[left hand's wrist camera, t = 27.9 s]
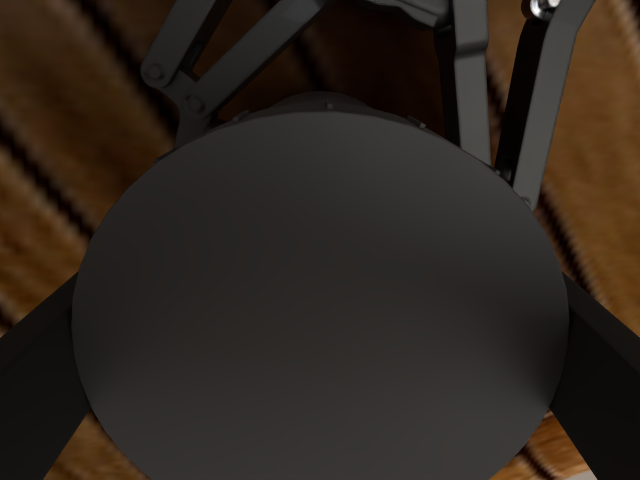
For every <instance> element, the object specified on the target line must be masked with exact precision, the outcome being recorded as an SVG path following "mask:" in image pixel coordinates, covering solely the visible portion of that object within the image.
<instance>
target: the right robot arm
mask: <svg viewBox="0 0 640 480" xmlns="http://www.w3.org/2000/svg"><path fill="white" fill-rule="evenodd" d="M232 1H233V0H176V1H175V3H174V5H173V7H172V8H171V10H170V12H169V14H168V16H167V18H166V19H165V21H164V23H163V25H162V27H161V29H160V30H159V32H158V34H157V36H156V38H155V40H154V42H153V43H152V45H151V47H150V49H149V51H148V53H147V54H146V56H145V58H144V60H143V62H142V64H141V68H140V72H141V76H142V78H143V81H144V82H145V83H146V84H147V85H148V86H151V87H153V88H157V89H158V90H160V91H161V92H162V93H163V94H165V95H166V96H167V97H169V98H170V99H171V100H172V101H173V102H174V103H175V104H176V106H177V107H178V110H179V113H180V122H179V126H178V130H177V135H176V139H175V143H174V147H173V149H174V148H176V147H179V148H180V147H182V146H183V145H185V144H187V143H188V142H190V141H192V140H193V139H195V138H197V137H199V136H200V135H202V134H204V133H205V132H207V131H209V130H211V129H213V128H215V127H218V126H220V125H222V124H224V123H226V122H227V121H224V120H221V119H217V117H218V113H219V111H221V110H223V109H222V108H223V107H224V106H225V105H226V104H227V103H228V102H229V101H230V100H232V99H233V98H234V97H235V96H236V95H237V94H238V93H239V92H240V91H241V90H242V89H243V88H244V87H245V86H246V85H247V84H249V83H250V82H251V81H252V80H253V79H254V78H255V77H256V76H257V75H258V74H259V73H260V72H261V71H262V70H263V69H264V68H266V67H267V66H268V65H269V64H270V63H271V62H272V61H273V60H274V59H275V58H276V57H277V56H278V55H279V54H280V53H281V52H283V51H284V50H285V49H286V48H287V47H288V46H289V45H290V44H291V43H292V42H293V41H294V40H295V39H296V38H297V37H298V36H300V35H301V34H302V33H303V32H304V31H305V30H306V29H307V28H308V27H309V26H310V25H311V24H312V23H313V22H314V21H315V20H317V19H318V18H319V17H320V16H321V15H322V14H323V13H324V12H326V11H327V10H328V9H329V8H330V7H332V6H333V5H334V4H335V3H336V2H337V1H338V0H280V1H279V2H278V3H277V4H276V5H275V6H274V7H273V8H272V9H271V10H270V11H269V12H267V13H266V14H265V15H264V16H263V17H262V18H261V19H260V20H259V21H258V22H257V23H256V24H255V25H254V26H253V27H252V28H251V29H250V30H249V31H248V32H247V33H246V34H245V35H244V36H243V37H242V38H241V39H240V40H239V41H238V42H237V43H236V44H235V45H234V46H233V47H232V48H231V49H230V50H229V51H228V52H227V53H226V54H225V55H224V56H223V57H221V58H220V59H219V60H218V61H217V62H216V63H215V64H214V65H213V66H212V67H211V68H210V69H209V70H208V71H207V72H206V73H205V74H204V75H203V76H202V77H201V78H199V77H198V76H197V75H196V74H195V73H193V72H192V69H193V67H194V65H195V64H196V62H197V60H198V59H199V57H200V55H201V54H202V52H203V50H204V48H205V47H206V45H207V43H208V42H209V40H210V38H211V36H212V35H213V33H214V31H215V30H216V28H217V26H218V24H219V23H220V21H221V19H222V18H223V16H224V14H225V13H226V11H227V9H228V7H229V6H230V4H231V2H232ZM355 1H356V2H355V4H356V5H359V6H361V7H364V8H366V9H369V10H371V11H381V12H391V13H393V14H394V15H395V16H396V17H398V18H399V19H400V20H401V21H403V22H404V23H405V24H406V25H409V26H411V27H414V28H416V29H419V30H421V31H425V30H433V33H434V44H435V51H436V55H437V57H438V60H439V69H440V80H441V91H442V103H443V114H444V125H445V136H446V140H448V141H450V142H451V143H453V144H455V145H456V146H458V147H460V148H461V149H463V150H465V151H466V152H468V153H470V154H471V155H473V156H475V157H476V158H478V159H480V160H481V161H483V162H485V163H486V164H488V165H490V166H491V155H490V136H489V118H488V100H487V81H486V63H485V52H486V49H487V46H488V41H489V33H488V14H487V0H355ZM595 1H596V0H522V3H521V11H522V14H523V15H524V17H525V18H527V20H526V22H525V24H524V27H523V30H522V32H521V35H520V39H519V43H518V47H517V52H516V57H515V63H514V68H513V73H512V78H511V83H510V88H509V94H508V99H507V104H506V109H505V114H504V120H503V125H502V130H501V135H500V140H499V146H498V151H497V156H496V161H495V166H494V168H495V169H497V170H498V171H499V172H500V174H499V176H500V177H502V178H503V179H504V180H505V181H506V182H507V183H508V184H509V185H510V186H511V187H512V188H513V189H514V191H515V192H516V193H517V194H518V195H519V196H520V197H521V198H522V199H523V201H524V202H525V203H526V204H527V205H528V206H529V208H530V209H531V211H532V212H533V211H534V210H535V208H536V206H537V202H538V197H539V193H540V189H541V184H542V180H543V176H544V172H545V167H546V163H547V159H548V154H549V150H550V146H551V142H552V137H553V133H554V129H555V125H556V120H557V116H558V112H559V107H560V103H561V99H562V95H563V90H564V86H565V82H566V77H567V73H568V69H569V65H570V60H571V56H572V52H573V48H574V43H575V39H576V35H577V32H578V30H579V28H580V27H581V25H582V23H583V21H584V20H585V18H586V16H587V15H588V13H589V11H590V9H591V8H592V6H593V4H594V2H595Z"/></svg>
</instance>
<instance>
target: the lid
mask: <svg viewBox="0 0 640 480" xmlns="http://www.w3.org/2000/svg"><path fill="white" fill-rule="evenodd" d="M425 126H426V125H425V124H423V123H422V122H420V121H418V120H416V119H415V118H413V117H411V116H407V118H406V119H405V118H402V117H400V116H397V115H395V114H391V113H387V112H383V111H380V110H376V109H372V108H368V107H364V106H356V105H347V104H339V103H332V101H331V99H326V103H298V104H292V105H286V106H279V107H273V108H267V109H264V110H260V111H257V112H254V113H250V112H249V110H246V111H244V112H242V113H240V114H239V115H237V116H235V117H234V118H233V120H231V121H228V122H226V123H224V124H222V125H220V126H218V127H215V128H213V129H211V130H209V131H207V132H205V133H204V134H202V135H200V136H199V137H197V138H195V139H193V140H192V141H190V142H188V143H187V144H185V145H183V146H182V147H180V148H179V147H176V148H174V149H173V150H171V151H169V152H167V153H166V154H164V155H162V156H160V157H159V158H157V159H155V160H154V161H153V162H154V163H155V164H154V165H153V166H152V167H151V168H150V169H148V170H147V171H146V172H145V173H144V174H143V175H142V176H141V177H139V178H138V179H137V180H136V181H135V182H134V183H133V184H131V185H130V186H129V187H128V188H127V189H126V191H125V192H124V193H123V194H122V195H121V197H120V198H119V199H118V200H117V201H116V203H115V204H114V205H113V206H112V207H111V209H110V210H109V211H108V212H107V214H106V215H105V217H104V219H103V220H102V222H101V224H100V225H99V227H98V229H97V230H96V232H95V234H94V235H93V237H92V239H91V240H90V243H89V245H88V248H87V250H86V253H85V255H84V258H83V261H82V263H81V266H80V268H79V272H78V276H77V281H76V285H75V290H74V294H73V301H72V318H71V333H72V343H73V352H74V357H75V361H76V365H77V369H78V374H79V378H80V382H81V384H82V386H83V389H84V391H85V394H86V396H87V398H88V401H89V403H90V406H91V408H92V409H93V411H94V413H95V414H96V416H97V418H98V419H99V421H100V423H101V425H102V426H103V428H104V430H105V431H106V432H107V433H108V435H109V436H110V437H111V439H112V440H113V441H114V443H115V444H116V445H117V446H118V448H119V449H120V450H121V451H122V452H123V453H124V454H125V455H126V456H127V457H128V458H129V459H130V460H131V461H132V462H133V463H134V464H135V465H136V466H137V467H138V468H139V469H140V470H141V471H142V472H143V473H145V474H146V475H147V476H148V477H150V478H151V479H152V480H489V479H490V478H491V477H492V476H493V475H495V474H496V473H497V472H498V471H499V470H501V469H502V468H503V467H504V466H505V465H506V464H507V463H508V462H509V461H510V460H511V459H512V458H513V457H514V456H515V455H516V454H517V453H518V452H519V450H520V449H521V448H522V447H523V446H524V445H525V444H526V442H527V441H528V440H529V438H530V437H531V435H532V434H533V433H534V431H535V430H536V428H537V427H538V426H539V424H540V423H541V421H542V419H543V417H544V415H545V413H546V412H547V410H548V408H549V406H550V404H551V402H552V400H553V398H554V395H555V393H556V390H557V387H558V385H559V382H560V379H561V376H562V372H563V367H564V363H565V358H566V354H567V350H568V339H569V321H570V319H569V309H568V299H567V290H566V286H565V282H564V279H563V275H562V271H561V267H560V264H559V260H558V258H557V256H556V254H555V252H554V249H553V247H552V245H551V243H550V240H549V238H548V236H547V234H546V232H545V230H544V229H543V227H542V226H541V224H540V223H539V221H538V220H537V218H536V217H535V215H534V214H533V212H532V211H531V209H530V208H529V206H528V205H527V204H526V203H525V202H524V201H523V199H522V198H521V197H520V196H519V195H518V194H517V193H516V192H515V191H514V189H513V188H512V187H511V186H510V185H509V184H508V183H507V182H506V181H505V180H504V179H503V178H502V177H500V176H499V174H500V172H499V171H498V170H497V169H495V168H493V167H491V166H490V165H488V164H486V163H485V162H483V161H481V160H480V159H478V158H476V157H475V156H473V155H471V154H470V153H468V152H466V151H465V150H463V149H461V148H460V147H458V146H456V145H455V144H453V143H451V142H450V141H448V140H446V139H444V138H443V137H441V136H439V135H438V134H436V133H434V132H432V131H431V130H429V129H427V128H426V127H425Z"/></svg>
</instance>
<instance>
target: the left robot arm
mask: <svg viewBox="0 0 640 480" xmlns="http://www.w3.org/2000/svg"><path fill="white" fill-rule="evenodd" d="M78 272H79V271H78ZM78 272H77V273H76V274H75V275H74V276H72V277H71V278H70V279H69V280H68V281H67V282H65V283H64V284H63V285H62V286H61V287H60V288H58V289H57V290H56V291H55V292H54V293H53V294H51V295H50V296H49V297H48V298H47V299H45V300H44V301H43V302H42V303H41V304H40V305H38V306H37V307H36V308H35V309H34V310H33V311H31V312H30V313H29V314H28V315H27V316H26V317H24V318H23V319H22V320H21V321H20V322H18V323H17V324H16V325H15V326H14V327H13V328H11V329H10V330H9V331H8V332H7V333H6V334H4V335H3V336H2V337H1V338H0V480H43V479H44V477H45V476H46V474H47V473H48V471H49V470H50V468H51V467H52V465H53V464H54V462H55V461H56V459H57V458H58V456H59V455H60V453H61V452H62V450H63V449H64V447H65V446H66V444H67V443H68V441H69V440H70V438H71V437H72V435H73V434H74V432H75V431H76V429H77V428H78V426H79V425H80V423H81V422H82V420H83V419H84V417H85V416H86V414H87V413H88V411H89V410H90V408H91V406H90V403H89V401H88V398H87V396H86V394H85V391H84V389H83V386H82V384H81V382H80V378H79V374H78V369H77V365H76V361H75V357H74V352H73V343H72V333H71V318H72V301H73V294H74V290H75V285H76V281H77V276H78ZM562 275H563V279H564V282H565V286H566V290H567V299H568V309H569V319H570V321H569V339H568V350H567V354H566V358H565V363H564V367H563V372H562V376H561V379H560V382H559V385H558V387H557V390H556V393H555V395H554V398H553V400H552V402H551V404H550V406H549V408H550V409H551V411H552V412H553V414H554V415H555V417H556V418H557V420H558V421H559V423H560V424H561V426H562V427H563V429H564V430H565V432H566V433H567V435H568V436H569V438H570V439H571V441H572V442H573V444H574V445H575V447H576V448H577V450H578V451H579V453H580V454H581V456H582V457H583V459H584V460H585V462H586V463H587V465H588V466H589V468H590V469H591V471H592V472H593V474H594V475H595V477H596V478H597V480H640V338H639V337H638V336H637V335H636V334H635V333H634V332H632V331H631V330H630V329H629V328H628V327H627V326H625V325H624V324H623V323H622V322H621V321H620V320H618V319H617V318H616V317H615V316H614V315H612V314H611V313H610V312H609V311H608V310H607V309H605V308H604V307H603V306H602V305H601V304H600V303H598V302H597V301H596V300H595V299H594V298H592V297H591V296H590V295H589V294H588V293H587V292H585V291H584V290H583V289H582V288H581V287H580V286H578V285H577V284H576V283H575V282H574V281H573V280H571V279H570V278H569V277H568V276H567V275H565V274H564V273H563V272H562Z"/></svg>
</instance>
